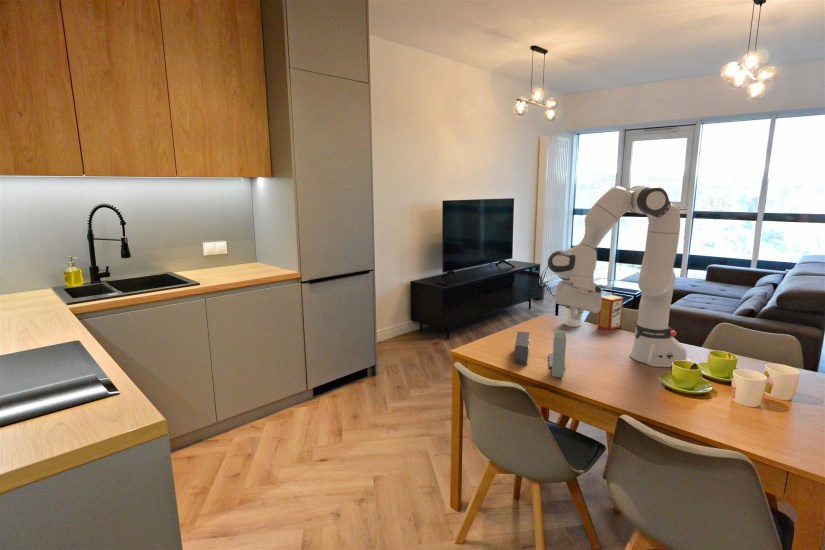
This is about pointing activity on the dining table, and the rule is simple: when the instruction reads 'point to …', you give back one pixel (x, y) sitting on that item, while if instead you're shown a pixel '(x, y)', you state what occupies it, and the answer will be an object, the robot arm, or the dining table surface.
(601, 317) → the baking soda box
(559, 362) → the block
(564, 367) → the rail
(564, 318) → the jar
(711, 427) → the dining table surface
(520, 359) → the block
